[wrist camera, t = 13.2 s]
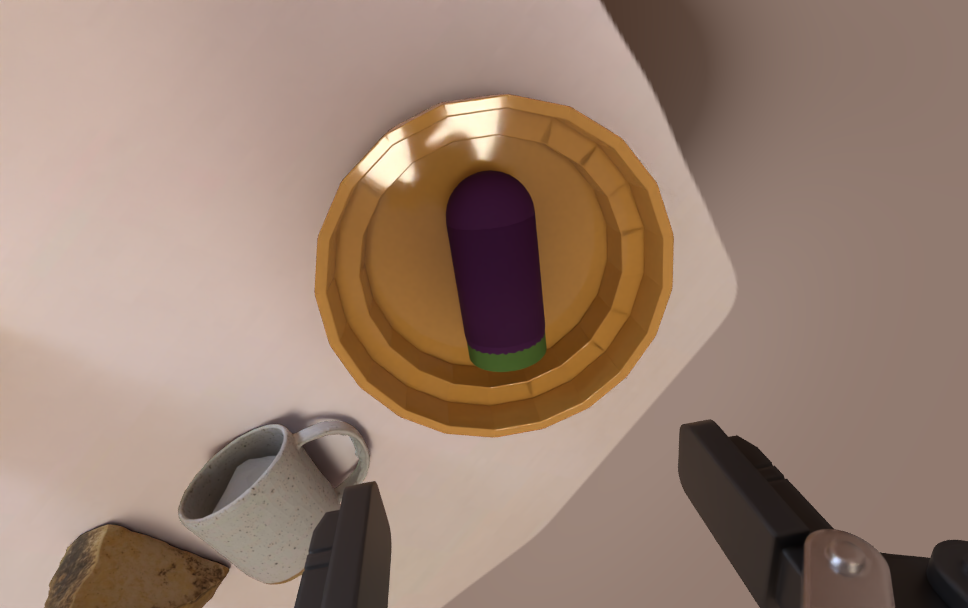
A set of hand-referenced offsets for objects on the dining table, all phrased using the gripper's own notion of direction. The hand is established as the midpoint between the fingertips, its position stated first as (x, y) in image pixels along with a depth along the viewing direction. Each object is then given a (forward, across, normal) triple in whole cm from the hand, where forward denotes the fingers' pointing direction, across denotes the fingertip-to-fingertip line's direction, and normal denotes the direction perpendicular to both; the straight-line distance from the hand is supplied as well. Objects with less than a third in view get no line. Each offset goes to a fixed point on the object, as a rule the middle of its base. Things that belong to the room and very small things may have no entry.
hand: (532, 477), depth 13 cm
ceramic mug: (+21, +15, +14) cm, 29 cm away
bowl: (+20, -1, +1) cm, 20 cm away
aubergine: (+20, -1, +1) cm, 20 cm away
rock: (+21, +28, +21) cm, 40 cm away
